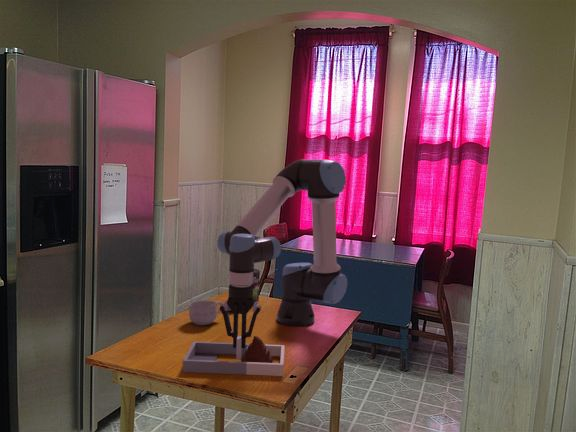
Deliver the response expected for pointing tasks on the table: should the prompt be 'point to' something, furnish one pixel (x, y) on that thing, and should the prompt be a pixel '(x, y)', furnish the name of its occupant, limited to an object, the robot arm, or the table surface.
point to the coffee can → (256, 285)
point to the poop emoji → (257, 352)
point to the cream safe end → (268, 368)
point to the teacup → (203, 311)
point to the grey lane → (212, 359)
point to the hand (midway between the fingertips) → (238, 357)
